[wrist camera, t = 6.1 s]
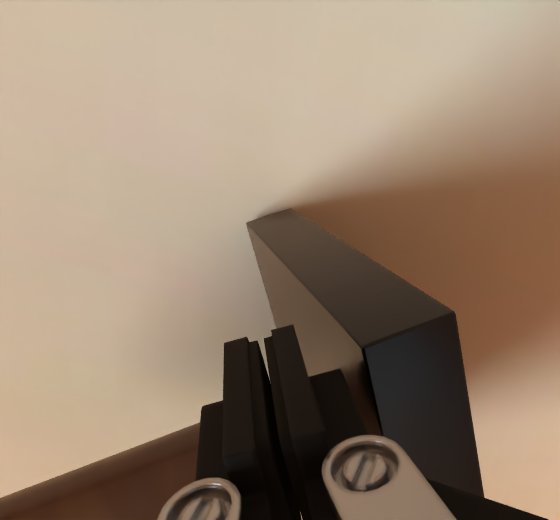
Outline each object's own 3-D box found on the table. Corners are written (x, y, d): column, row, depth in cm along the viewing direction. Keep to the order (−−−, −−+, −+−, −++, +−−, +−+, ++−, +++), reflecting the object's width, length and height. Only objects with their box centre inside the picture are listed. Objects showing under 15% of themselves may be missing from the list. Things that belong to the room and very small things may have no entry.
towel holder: (283, 207, 21) (563, 242, 11) (342, 432, 25) (590, 609, 15) (-236, 419, 14) (-823, 1127, 4) (-37, 695, 18) (-48, 1407, 7)
